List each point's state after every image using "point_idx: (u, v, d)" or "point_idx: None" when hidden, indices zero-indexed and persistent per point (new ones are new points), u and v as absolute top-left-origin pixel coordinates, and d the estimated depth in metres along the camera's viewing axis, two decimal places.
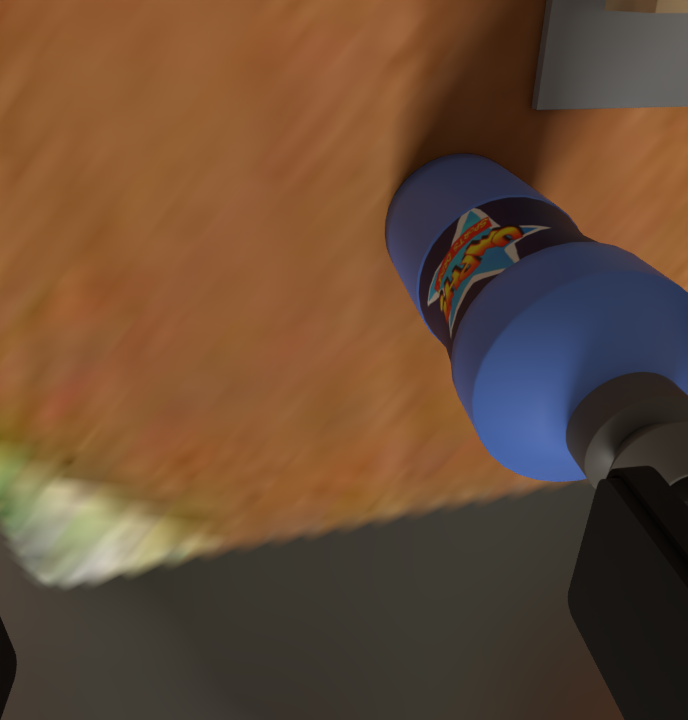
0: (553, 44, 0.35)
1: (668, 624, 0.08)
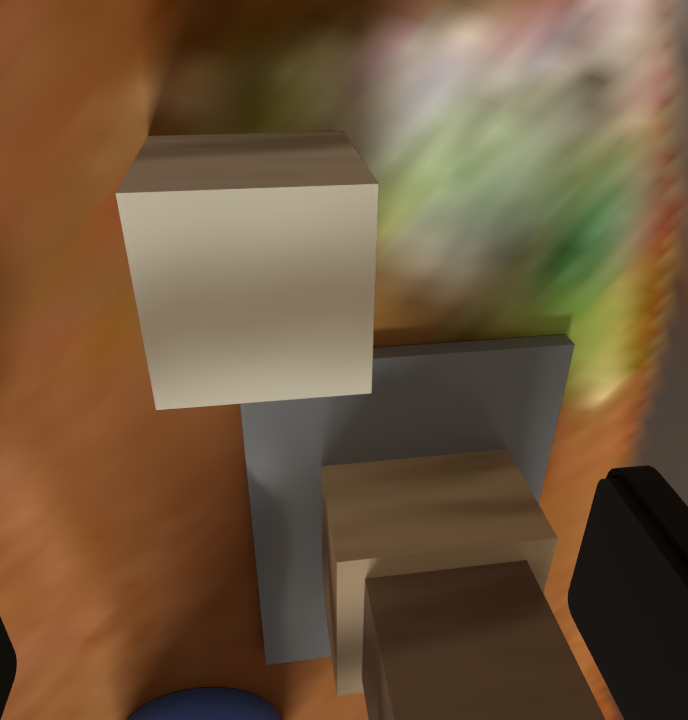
0: (270, 622, 0.31)
1: (668, 624, 0.08)
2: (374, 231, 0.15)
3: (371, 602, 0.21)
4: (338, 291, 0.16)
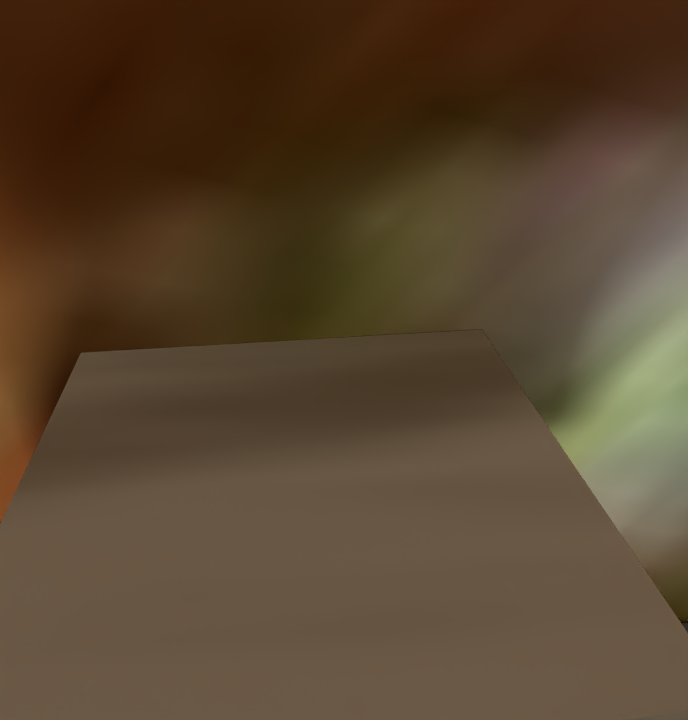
0: None
1: None
2: None
3: None
4: None
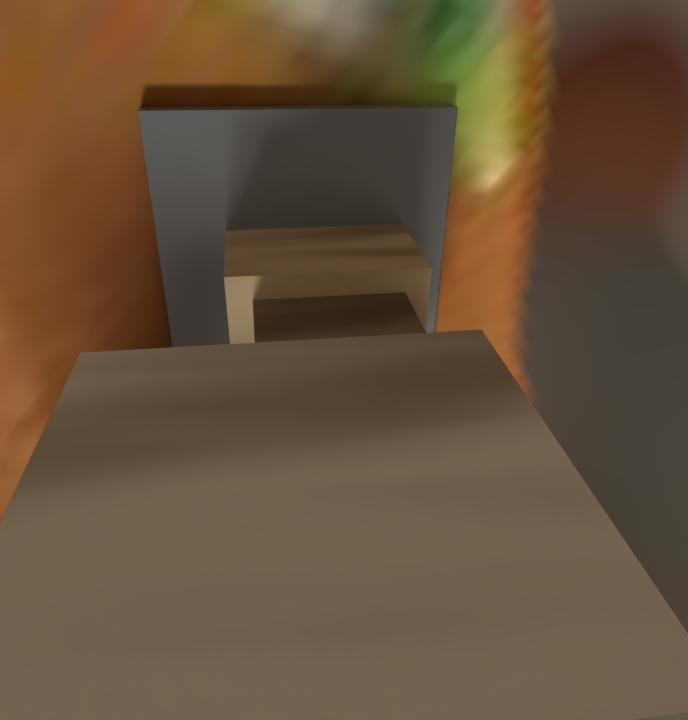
0: None
1: None
2: None
3: (254, 311, 0.23)
4: None
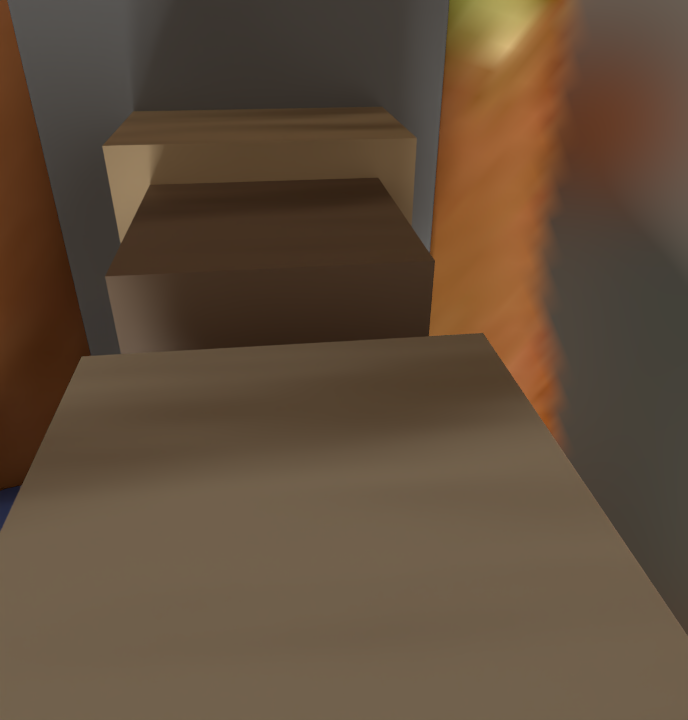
0: None
1: None
2: None
3: (146, 195, 0.15)
4: None
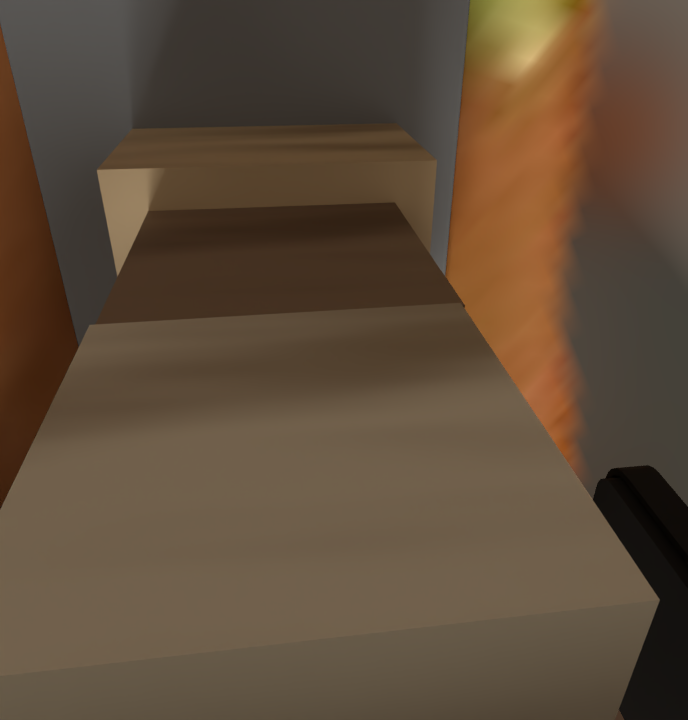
0: None
1: (668, 624, 0.08)
2: (622, 683, 0.06)
3: (144, 224, 0.14)
4: None
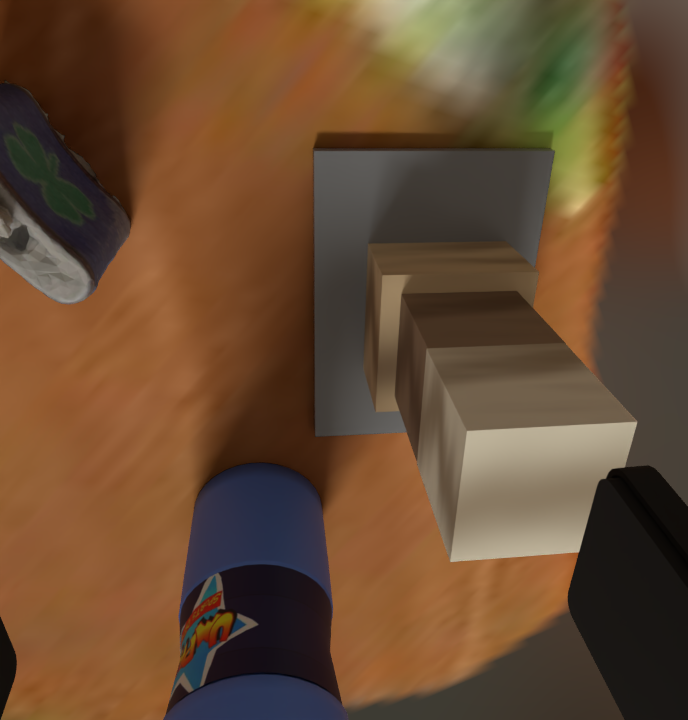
0: (321, 392, 0.40)
1: (668, 624, 0.08)
2: (627, 449, 0.22)
3: (406, 301, 0.31)
4: (594, 486, 0.23)
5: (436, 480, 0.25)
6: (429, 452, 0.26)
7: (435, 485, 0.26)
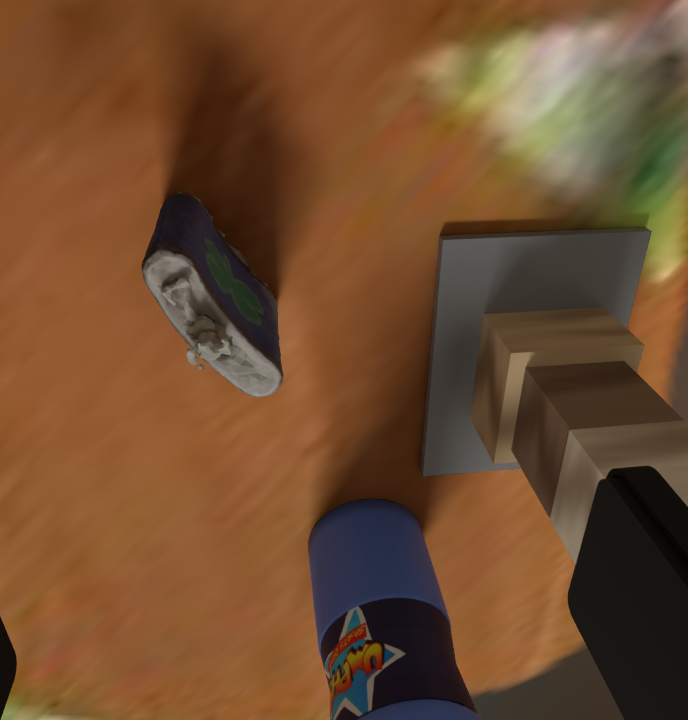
0: (431, 439, 0.44)
1: (668, 624, 0.08)
2: None
3: (533, 376, 0.35)
4: None
5: None
6: (571, 516, 0.31)
7: (580, 546, 0.30)
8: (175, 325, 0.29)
